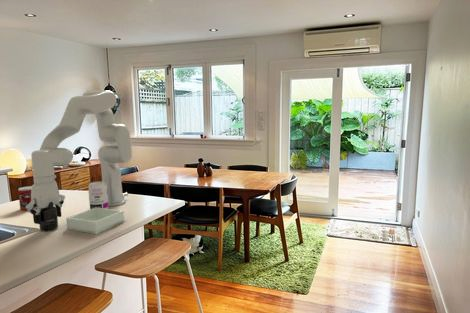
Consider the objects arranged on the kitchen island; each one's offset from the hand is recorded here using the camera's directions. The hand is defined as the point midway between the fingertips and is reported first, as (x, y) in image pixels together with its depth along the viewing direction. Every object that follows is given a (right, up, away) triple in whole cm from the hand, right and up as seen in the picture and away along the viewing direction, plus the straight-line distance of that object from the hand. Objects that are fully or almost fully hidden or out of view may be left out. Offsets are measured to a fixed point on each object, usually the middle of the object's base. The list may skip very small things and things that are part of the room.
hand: (48, 219), depth 136 cm
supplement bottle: (0, -4, +1) cm, 4 cm away
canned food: (-28, 0, +31) cm, 41 cm away
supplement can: (+13, -1, +21) cm, 25 cm away
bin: (+19, -3, +4) cm, 19 cm away
